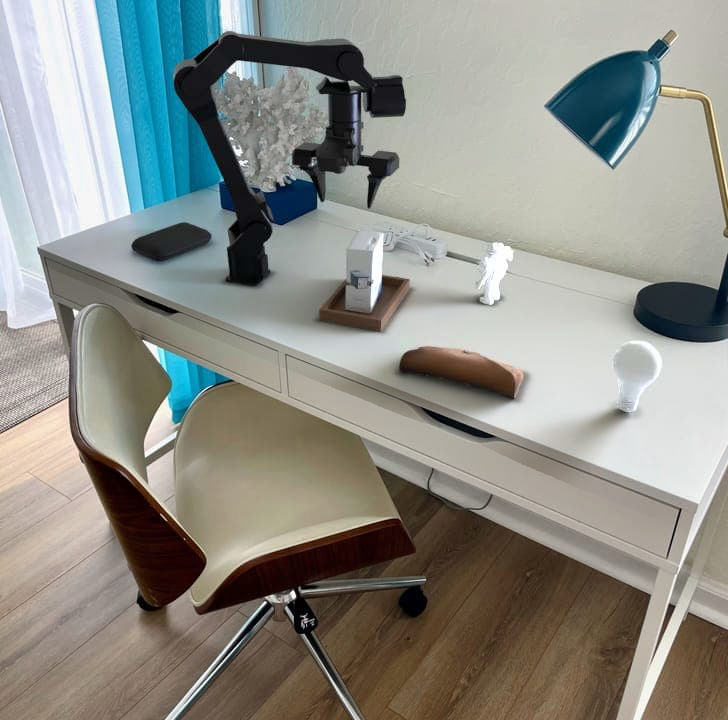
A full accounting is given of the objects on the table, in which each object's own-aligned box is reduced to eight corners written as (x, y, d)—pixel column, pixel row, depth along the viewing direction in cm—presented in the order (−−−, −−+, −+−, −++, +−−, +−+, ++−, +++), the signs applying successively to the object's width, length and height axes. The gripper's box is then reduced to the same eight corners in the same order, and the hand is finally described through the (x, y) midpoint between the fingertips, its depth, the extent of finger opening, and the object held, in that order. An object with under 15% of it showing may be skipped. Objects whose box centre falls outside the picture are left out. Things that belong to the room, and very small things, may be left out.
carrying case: (183, 230, 158) (124, 251, 148) (181, 216, 156) (122, 237, 147) (216, 243, 153) (158, 266, 143) (215, 229, 151) (155, 251, 141)
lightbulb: (603, 393, 109) (617, 329, 103) (648, 401, 107) (665, 336, 101) (601, 418, 104) (616, 351, 98) (648, 427, 102) (666, 360, 96)
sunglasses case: (527, 370, 113) (526, 348, 107) (515, 410, 110) (514, 391, 104) (416, 345, 118) (410, 324, 113) (402, 384, 115) (395, 364, 110)
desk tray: (319, 320, 126) (319, 309, 125) (353, 280, 139) (353, 269, 138) (381, 331, 123) (381, 320, 122) (409, 289, 136) (409, 279, 135)
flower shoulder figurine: (485, 311, 130) (492, 248, 123) (467, 304, 132) (472, 242, 125) (512, 294, 135) (520, 232, 129) (494, 287, 138) (501, 227, 131)
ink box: (356, 289, 135) (356, 228, 129) (383, 292, 134) (384, 231, 128) (344, 311, 128) (344, 248, 121) (373, 314, 127) (374, 251, 121)
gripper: (275, 124, 124) (281, 213, 132) (381, 136, 119) (379, 227, 128) (302, 109, 133) (306, 193, 141) (401, 119, 128) (398, 205, 136)
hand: (345, 204), depth 136 cm, fingers open, 9 cm apart
